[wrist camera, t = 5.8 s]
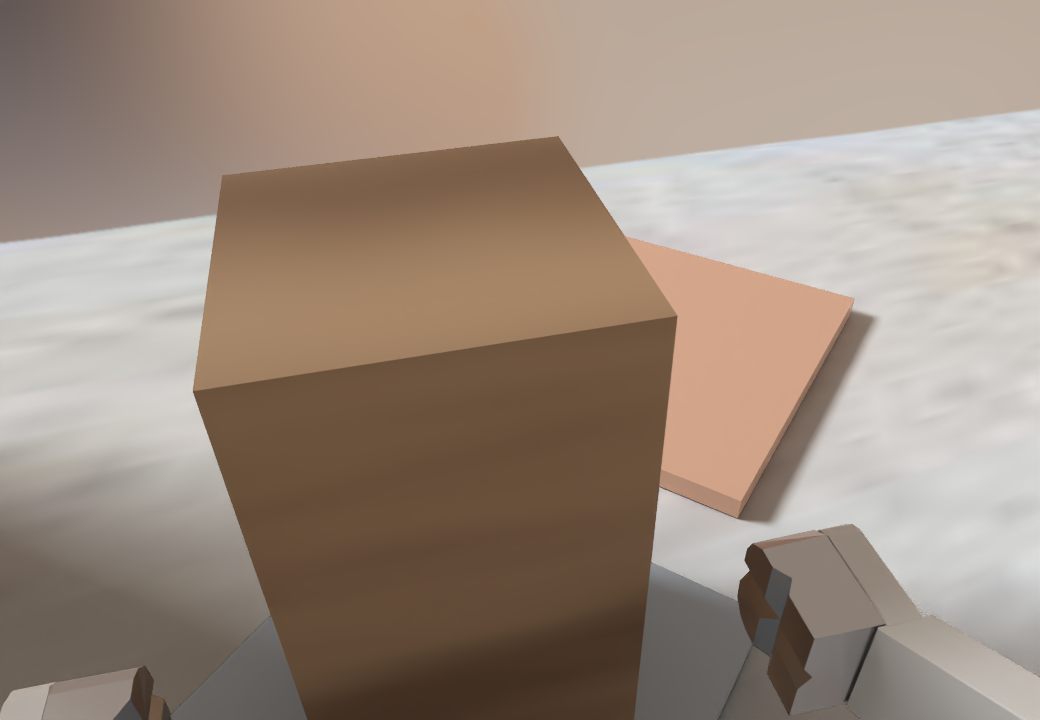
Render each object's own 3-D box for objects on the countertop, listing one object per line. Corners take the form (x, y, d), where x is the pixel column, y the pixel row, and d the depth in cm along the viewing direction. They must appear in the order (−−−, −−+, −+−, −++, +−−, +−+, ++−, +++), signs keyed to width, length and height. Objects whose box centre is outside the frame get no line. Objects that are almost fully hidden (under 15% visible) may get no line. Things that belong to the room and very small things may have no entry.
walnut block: (628, 772, 15) (678, 316, 9) (349, 839, 14) (192, 390, 8) (557, 556, 19) (558, 136, 13) (335, 601, 18) (222, 175, 12)
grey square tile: (546, 1088, 12) (545, 1083, 12) (138, 760, 16) (133, 751, 16) (762, 622, 18) (765, 613, 18) (427, 468, 22) (425, 459, 21)
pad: (737, 518, 20) (740, 501, 20) (411, 384, 24) (409, 368, 24) (850, 314, 27) (854, 298, 26) (577, 237, 31) (577, 223, 31)
